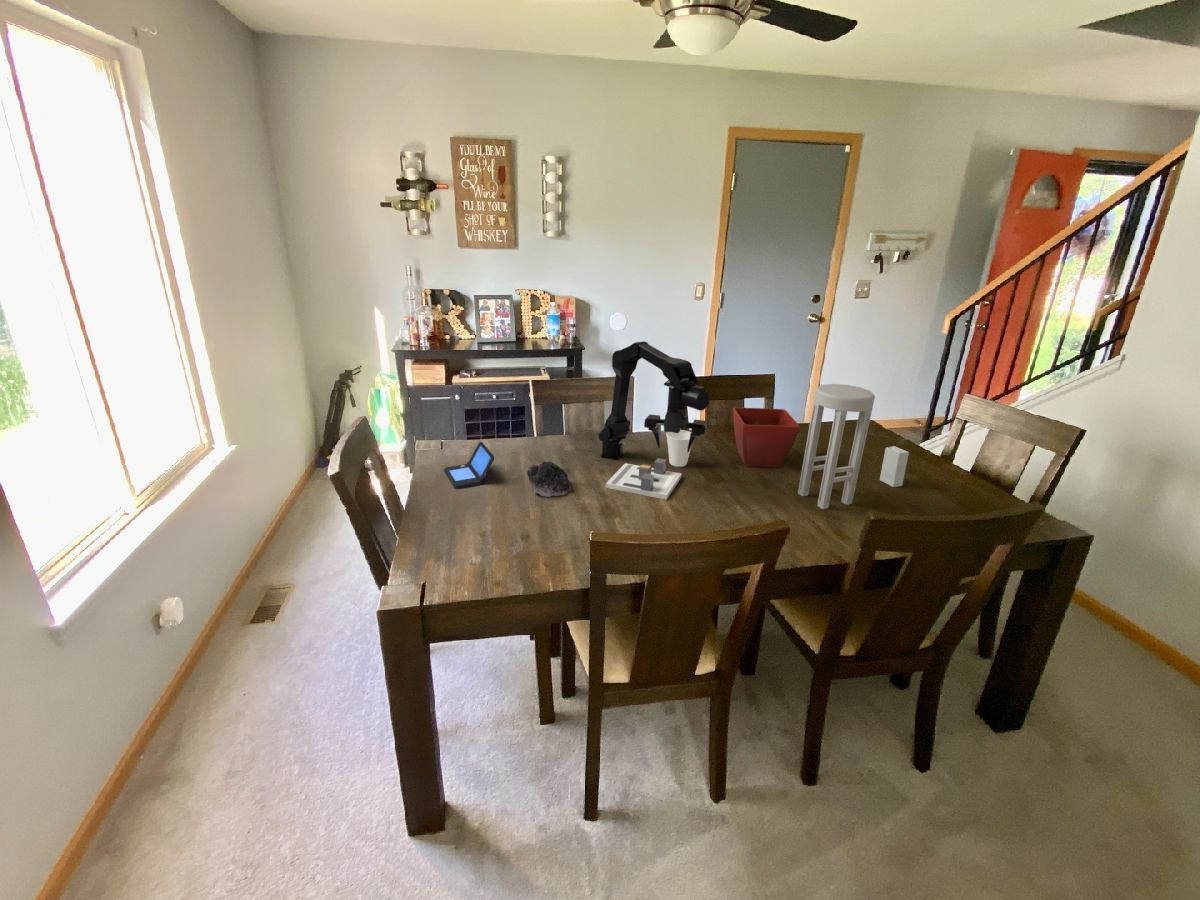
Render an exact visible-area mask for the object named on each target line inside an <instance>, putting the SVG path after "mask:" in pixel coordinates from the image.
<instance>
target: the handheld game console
mask: <svg viewBox="0 0 1200 900" xmlns="http://www.w3.org/2000/svg"><path fill="white" fill-rule="evenodd" d="M494 460H495V456H494V454H493V453H492V452H491V451H490V450H489V449H488V447H487V446H486V445H485V444H484V442H483V441H479V442H478V443H477V446H476V448H475V449H474V450H473V453H472V455H471V457H470V459H469V461H467V463H464V464H463V463H462V464H458V465H453V466H447V467H444V468H443V472H444V474H445V475H446V477H447V479H448V480H449V482H450V484H451V485H452V486H453V488H454V489H463V488H470V487H475V486H481V485H484V479H485V477H486V476H487V473H488V472H489V470H490V468H491V466H492V464H493V463H494Z"/></svg>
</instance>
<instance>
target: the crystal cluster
mask: <svg viewBox="0 0 1200 900" xmlns="http://www.w3.org/2000/svg"><path fill="white" fill-rule="evenodd" d="M526 475H527V479H528V482H529V484H530V487H531V488H532V490H533V491H534V493H535V494H539V495H540V496H542V497H547V498H549V497H550V498H551V497H556V496H557V497H559V496H565V495H566V494H567V493H568V492H569V490H570V489H571V481H570V480H569V475H568V474H567V472H566V471H565V470H564V469H563V468H561V467H560V465H558V464H556V463H555V462H552V461H541V462H540V464H539V465H535V464H532V465H531V466H529V468H528V469H527V471H526Z"/></svg>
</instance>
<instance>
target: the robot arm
mask: <svg viewBox="0 0 1200 900" xmlns="http://www.w3.org/2000/svg"><path fill="white" fill-rule="evenodd" d="M641 359H643V361H646V362H648V363H649V364H651V365H653V366H654V367H657V368H658V369H660V371H662V375H663V376H664V377H665V378H666V379H667V381H665V382H664V383H663V385H664V386H665V387H668V393H667V394H668V395H667V410H666V413H665V416H664V418H661V415H660V414H659V415H658V414H648V415H647V416H646V418H645V419H644V423H643V424H644V425H643V426H644V428H647V429H648V431H651V432H652V434H653V435H654V438H655V441H656V442H655V443H656V445H657V448H658V449H661V444H662V426H663V431H664V432H666V433H667V432H674V433H679V432H680V430H686V429H690V430H691V431H690V432H691V434H690V439H689V444H688V450H687V452H689V450H690V448H691V449H692V447H691V445H692V446H693V443H694V441H695V440H696V438H697V437H701V435H705V434H706V431H707V430H708V429H707V428H708V422H707V421H706V420H705V419H703V420H702V419H694V420H693V422H690V421H688V417H687V416H686V415H687V407H688V408H691V409H694V410H697V411H698V412H699V411H700V412H702V411H704V410H706V409H707V407H708V405H709V403H710V395H709V393H708V392H707V391H706V387H705V386H699V385H700V383H699V380H698V378H697V376H696V374H695V371H694V369H693V366H692V365H693V364H692V363H691V362H690V361H688V360H686V359H683V358H677V357H672V356H670V355H668V354H666V353H664V352H663V351H660V350H659V349H657V348H656V347H653V346H652V345H650V344H649V343H648V342H647V341H645V340H642V341H637V342H634V343H632V344H630V345H629V346H626V347H625V348H622V349H620V350H619V349H618V350H616V351H614V352H613V354H612V356H611V367H612V369H613V372H614V373H615V376H614V377H615V378H614V385H613V393H612V403H611V412H610V414H609V416H608V417H607V418H606V419H605V423H604V426H603V429H602V430H601V431H600V432H599V433H598V440H599V441H600V442H602V444H601V445H602V446H601V447H602V448H601V449H602V452H601V454H600V455H599V456H600V457H601V458H607V459H612V460H618V459H620V457H621V456H622V455H623V450H624V449H623V448H624V444H623V443H622V441H623V440H625V439H626V437H627V435H628V433H629V432H630V426H631V421H630V420H629V419H628V418H627V415H626V412H627V405H628V404H627V403H628V396H629V390H630V389H629V388H630V381H631V377H632V375H633V373H634V372H635V370H636V369H637V365H638V361H640V360H641ZM690 451H691V450H690Z"/></svg>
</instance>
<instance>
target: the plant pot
mask: <svg viewBox="0 0 1200 900" xmlns="http://www.w3.org/2000/svg"><path fill="white" fill-rule="evenodd" d="M732 413H733V428H734V436H735V437H734V438H735V442H736V448H737V449H736V450H737V452H738V455H739V457H740V459H741V461H742V462H743V464H744V466H745V467H764V468H766V467H767V468H780V467H782V466H783V464H784V463H785V460H786V458H787V457H788V455H789V454H790V452H791V450H792V447H793V445H794V443H795V441H796V439H797V436H798V433H799V430H800V428H801V426H800V425H799V423H798V422H797V421H796V420H795V419H794V418H793V417H792V416H791V414H790V413H789V412H788V411H787V410H786V409H783V408H762V407H735V406H734V407H733V412H732Z"/></svg>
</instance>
